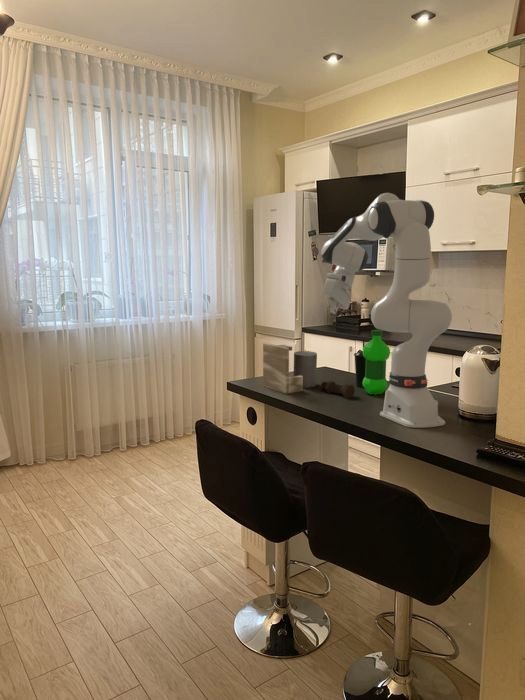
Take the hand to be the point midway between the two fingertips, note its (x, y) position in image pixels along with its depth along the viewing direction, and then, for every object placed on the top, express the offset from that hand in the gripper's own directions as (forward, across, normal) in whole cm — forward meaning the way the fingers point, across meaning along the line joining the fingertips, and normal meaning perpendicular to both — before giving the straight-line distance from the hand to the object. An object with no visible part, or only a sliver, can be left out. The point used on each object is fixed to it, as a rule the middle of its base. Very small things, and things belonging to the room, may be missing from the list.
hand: (332, 312), depth 221 cm
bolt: (+32, 0, +12) cm, 34 cm away
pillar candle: (+31, -6, -6) cm, 32 cm away
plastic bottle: (+27, -8, +24) cm, 37 cm away
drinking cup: (+25, -16, +15) cm, 33 cm away
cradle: (+36, +4, -10) cm, 37 cm away
